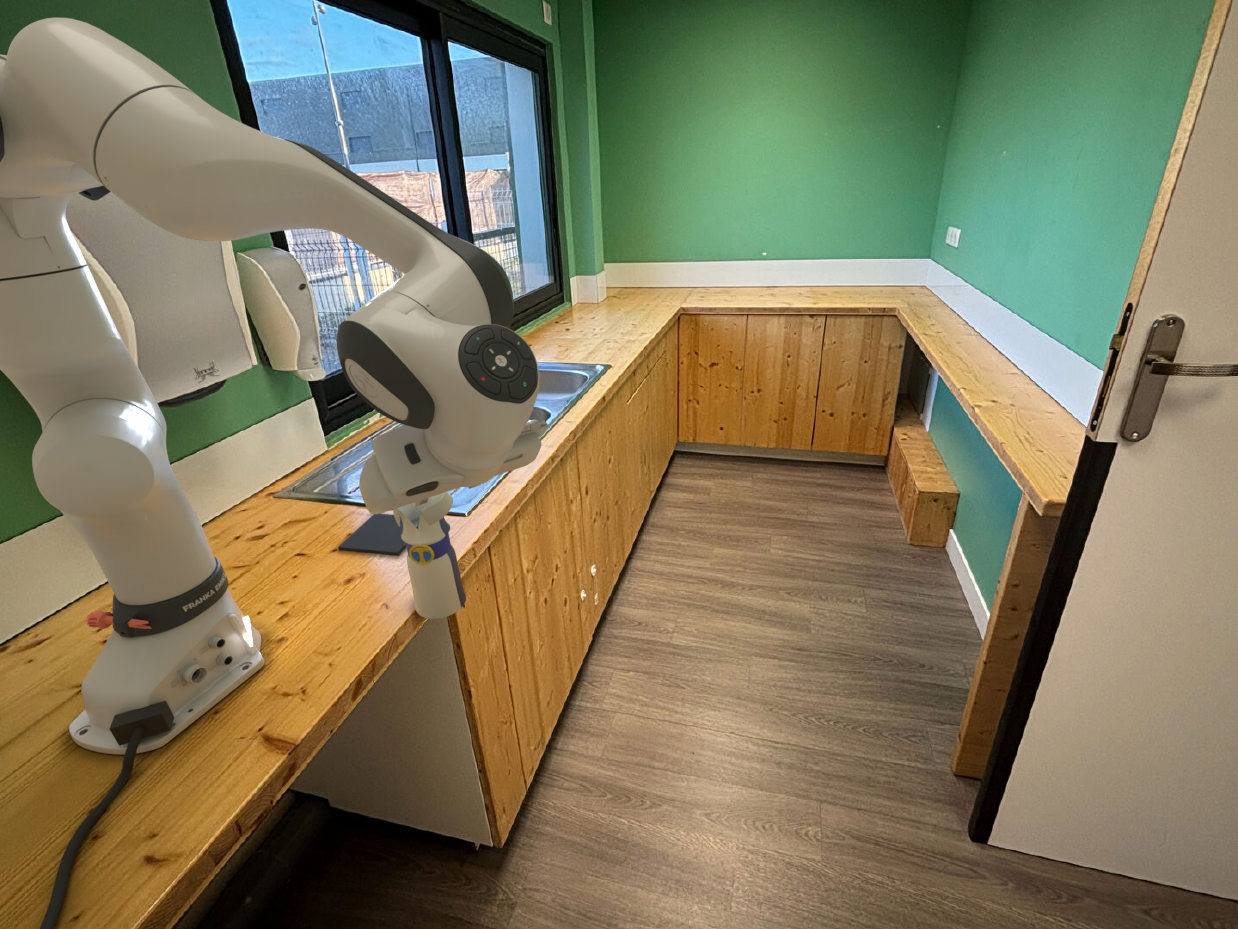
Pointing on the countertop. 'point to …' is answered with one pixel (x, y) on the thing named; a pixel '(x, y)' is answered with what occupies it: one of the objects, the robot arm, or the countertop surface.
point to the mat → (377, 536)
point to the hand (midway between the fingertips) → (445, 490)
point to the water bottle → (431, 557)
